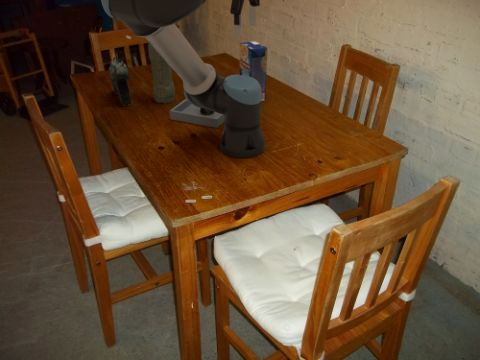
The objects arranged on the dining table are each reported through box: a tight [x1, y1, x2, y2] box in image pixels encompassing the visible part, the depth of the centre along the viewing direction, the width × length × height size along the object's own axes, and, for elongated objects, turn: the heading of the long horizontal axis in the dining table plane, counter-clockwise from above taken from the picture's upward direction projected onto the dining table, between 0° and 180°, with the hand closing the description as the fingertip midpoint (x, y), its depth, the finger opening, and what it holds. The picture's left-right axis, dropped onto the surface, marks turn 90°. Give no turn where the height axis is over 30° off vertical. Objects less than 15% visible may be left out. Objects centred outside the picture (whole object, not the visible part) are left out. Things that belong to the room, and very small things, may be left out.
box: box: [169, 98, 225, 129], centre depth 163 cm, size 20×20×4 cm
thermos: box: [147, 42, 176, 105], centre depth 166 cm, size 9×12×35 cm
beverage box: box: [239, 40, 268, 102], centre depth 172 cm, size 7×11×22 cm, turn 26°
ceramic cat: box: [108, 52, 132, 106], centre depth 170 cm, size 20×6×20 cm, turn 25°
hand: (245, 30), depth 142 cm, fingers open, 13 cm apart
